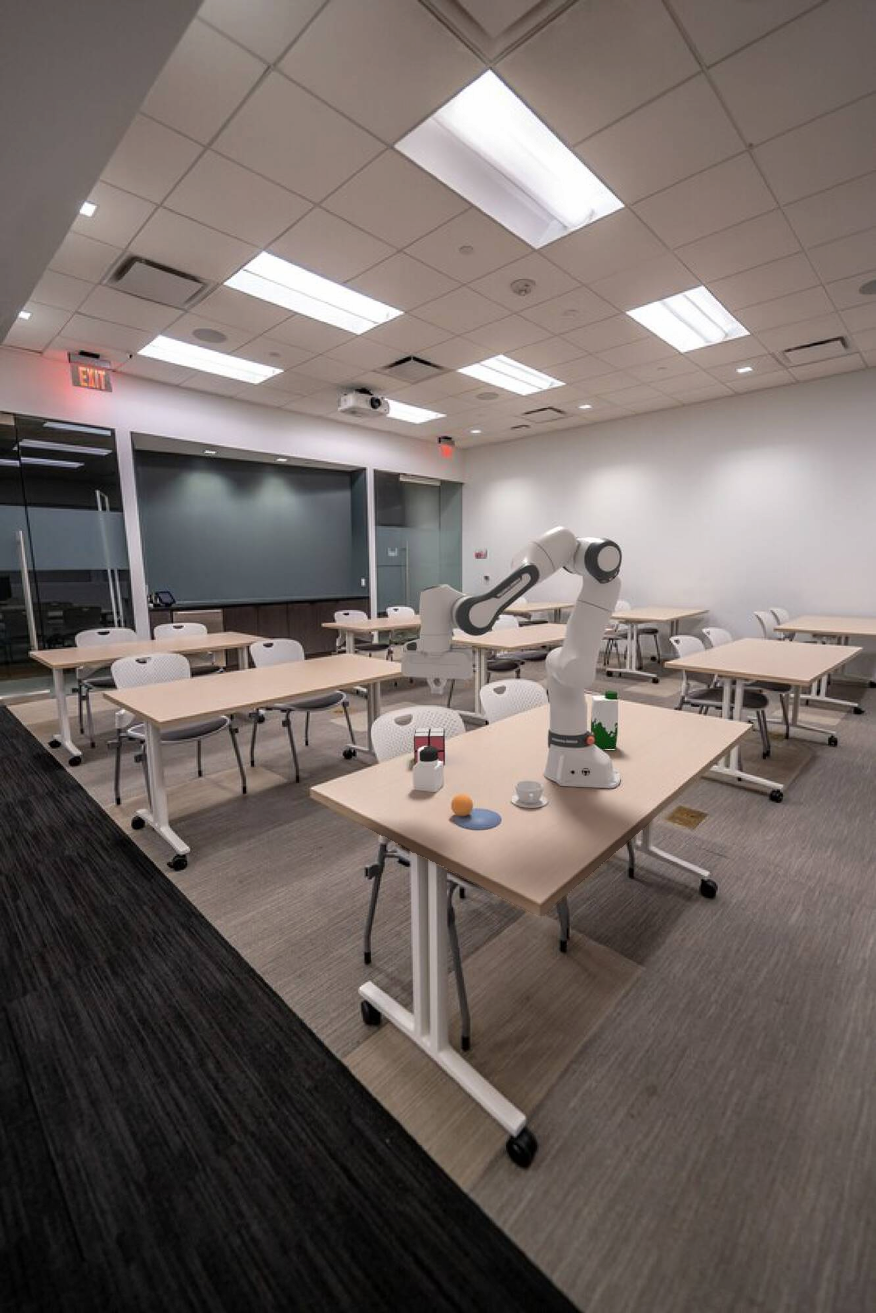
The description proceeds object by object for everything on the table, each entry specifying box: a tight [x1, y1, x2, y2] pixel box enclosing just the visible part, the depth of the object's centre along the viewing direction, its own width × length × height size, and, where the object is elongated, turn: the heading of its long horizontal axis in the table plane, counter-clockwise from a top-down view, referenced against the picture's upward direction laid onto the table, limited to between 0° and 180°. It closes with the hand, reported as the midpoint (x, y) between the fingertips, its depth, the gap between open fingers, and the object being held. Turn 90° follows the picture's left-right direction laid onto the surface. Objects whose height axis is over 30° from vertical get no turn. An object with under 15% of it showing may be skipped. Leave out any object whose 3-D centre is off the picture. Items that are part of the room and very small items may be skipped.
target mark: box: [453, 808, 502, 831], centre depth 138 cm, size 12×12×1 cm
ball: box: [450, 793, 474, 817], centre depth 140 cm, size 6×6×6 cm
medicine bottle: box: [412, 746, 445, 793], centre depth 159 cm, size 7×7×12 cm
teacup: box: [510, 780, 549, 809], centre depth 148 cm, size 10×10×5 cm
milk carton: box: [590, 690, 619, 749], centre depth 192 cm, size 9×9×20 cm
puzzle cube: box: [413, 727, 446, 766], centre depth 183 cm, size 10×10×10 cm
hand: (437, 693), depth 151 cm, fingers closed
